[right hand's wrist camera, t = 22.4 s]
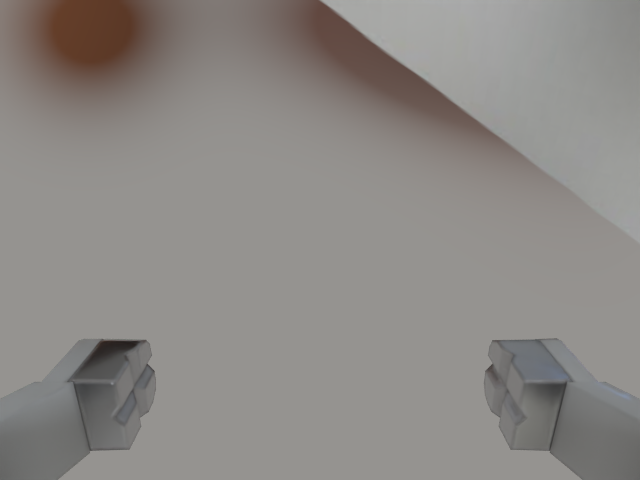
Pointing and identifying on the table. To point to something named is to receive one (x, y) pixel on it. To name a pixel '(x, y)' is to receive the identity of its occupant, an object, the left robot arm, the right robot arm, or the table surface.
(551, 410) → the right robot arm
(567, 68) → the table surface
